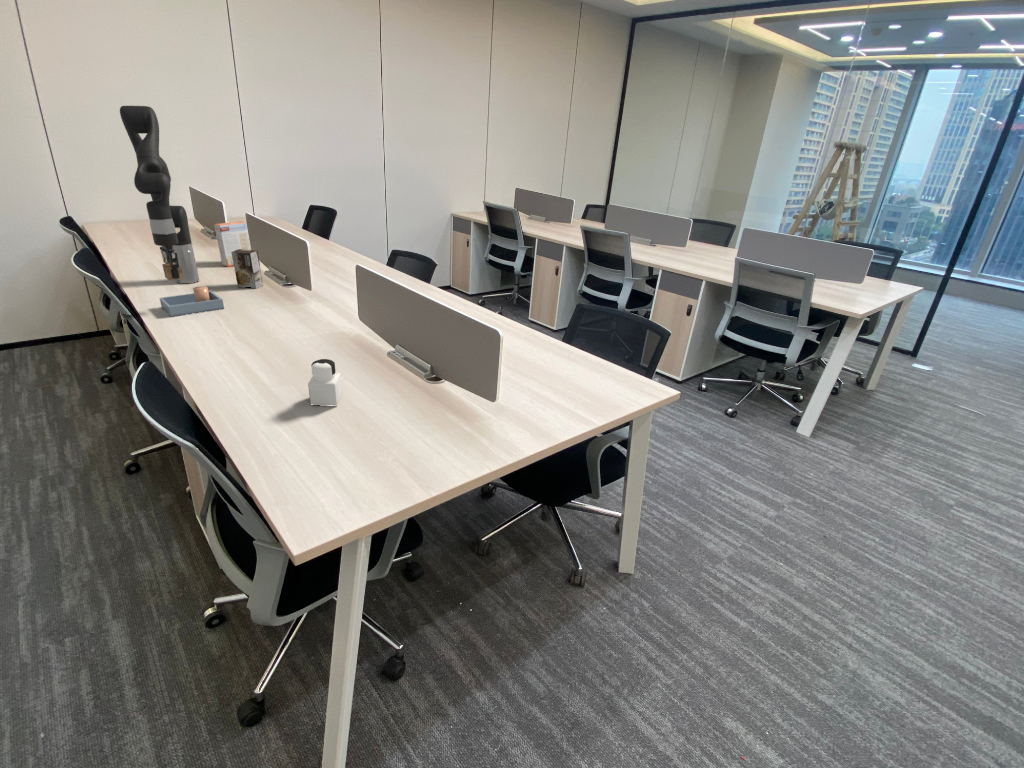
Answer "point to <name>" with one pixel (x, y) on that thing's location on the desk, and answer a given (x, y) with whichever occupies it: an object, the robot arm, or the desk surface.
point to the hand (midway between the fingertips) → (174, 276)
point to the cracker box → (231, 240)
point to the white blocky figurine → (324, 383)
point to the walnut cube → (168, 271)
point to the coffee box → (247, 268)
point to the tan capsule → (201, 294)
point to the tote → (190, 304)
